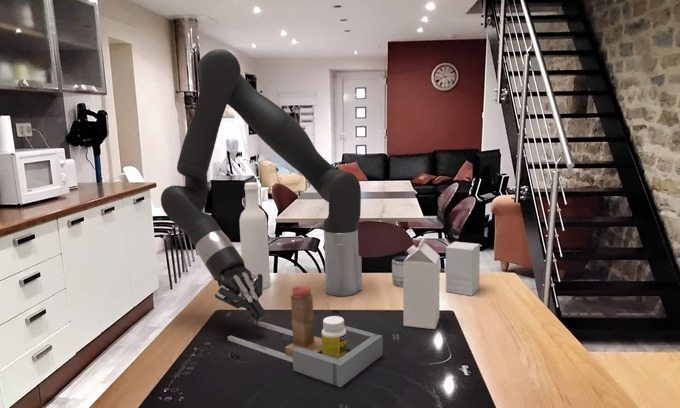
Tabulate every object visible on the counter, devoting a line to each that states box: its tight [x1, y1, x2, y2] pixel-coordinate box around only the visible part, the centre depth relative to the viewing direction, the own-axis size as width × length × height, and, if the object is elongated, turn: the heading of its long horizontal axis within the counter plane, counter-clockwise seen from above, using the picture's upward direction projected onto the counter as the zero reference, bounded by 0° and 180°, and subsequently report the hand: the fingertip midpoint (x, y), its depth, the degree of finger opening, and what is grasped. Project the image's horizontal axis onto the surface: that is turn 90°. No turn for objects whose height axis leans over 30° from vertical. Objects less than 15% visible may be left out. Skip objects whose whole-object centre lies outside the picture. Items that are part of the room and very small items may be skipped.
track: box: [227, 320, 293, 364], centre depth 100 cm, size 10×18×1 cm, turn 54°
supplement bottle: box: [321, 315, 348, 359], centre depth 90 cm, size 5×5×8 cm
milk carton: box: [402, 237, 441, 330], centre depth 107 cm, size 7×7×19 cm
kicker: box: [284, 285, 322, 356], centre depth 93 cm, size 7×7×13 cm
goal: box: [292, 325, 384, 388], centre depth 90 cm, size 14×11×4 cm
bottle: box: [239, 181, 271, 290], centre depth 135 cm, size 8×8×30 cm
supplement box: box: [445, 241, 481, 297], centre depth 128 cm, size 7×7×13 cm
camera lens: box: [391, 255, 408, 288], centre depth 135 cm, size 6×6×8 cm
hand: (261, 318), depth 102 cm, fingers closed
